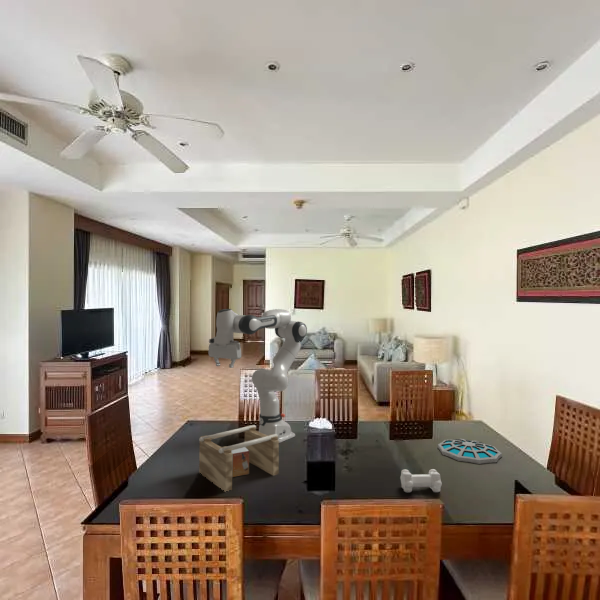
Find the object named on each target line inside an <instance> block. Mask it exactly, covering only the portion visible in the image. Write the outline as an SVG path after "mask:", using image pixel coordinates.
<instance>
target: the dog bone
mask: <svg viewBox="0 0 600 600" xmlns="http://www.w3.org/2000/svg"><path fill="white" fill-rule="evenodd" d="M399 479H400V484H401V488H402V489H403V492H405V493H408V494H409V493H412V491H413V488H430V489H431V490H432V492H433V493H439V492H441V487H442V485H443V483H442V480H441V474H440V473H439V472H438V470H436V469H434V468H432V469H429V471H428V473H427V474H426V473H425V474H424V473H423V474H422V473H421V474H412V473H411V472H410V470H408V469H405V468H404V469H401V473H400V477H399Z"/></svg>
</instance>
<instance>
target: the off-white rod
mask: <svg viewBox="0 0 600 600" xmlns="http://www.w3.org/2000/svg"><path fill="white" fill-rule="evenodd" d="M275 436H277V437H278V435H277V434H273V435H270V436H266V437H262V438H258V439H254V440H251V441H247V442H245V441H243V442H239V443H236V444H232V445H231V444H230V445H228V446H227V447H224V446H223V447H224V448H220V449H219V453H224V450H226V449H231V451H232V450H236V449H239V448H243V447H247V446H250V445H254V444H258V443H262V442H265V441H269V440H271V437H275Z"/></svg>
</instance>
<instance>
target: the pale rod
mask: <svg viewBox="0 0 600 600" xmlns="http://www.w3.org/2000/svg"><path fill="white" fill-rule="evenodd" d="M250 425H251V424H250ZM246 426H247V427H245V426H244V427H239V428H235V429H230V430H226V431H222V432H217V433H214V434H209V435H207V436H206V435H203V436H204V437H201V436H200V437H199V439H198V441H199V443H200V442H203V441H204V439H205V438H211V440H214V439H219V438H224V437H227V436H232V435H236V434H240V433H245V431H249V428H252V427H256V428H257V425H255V424H252V425H251V426H249V425H246Z"/></svg>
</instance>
